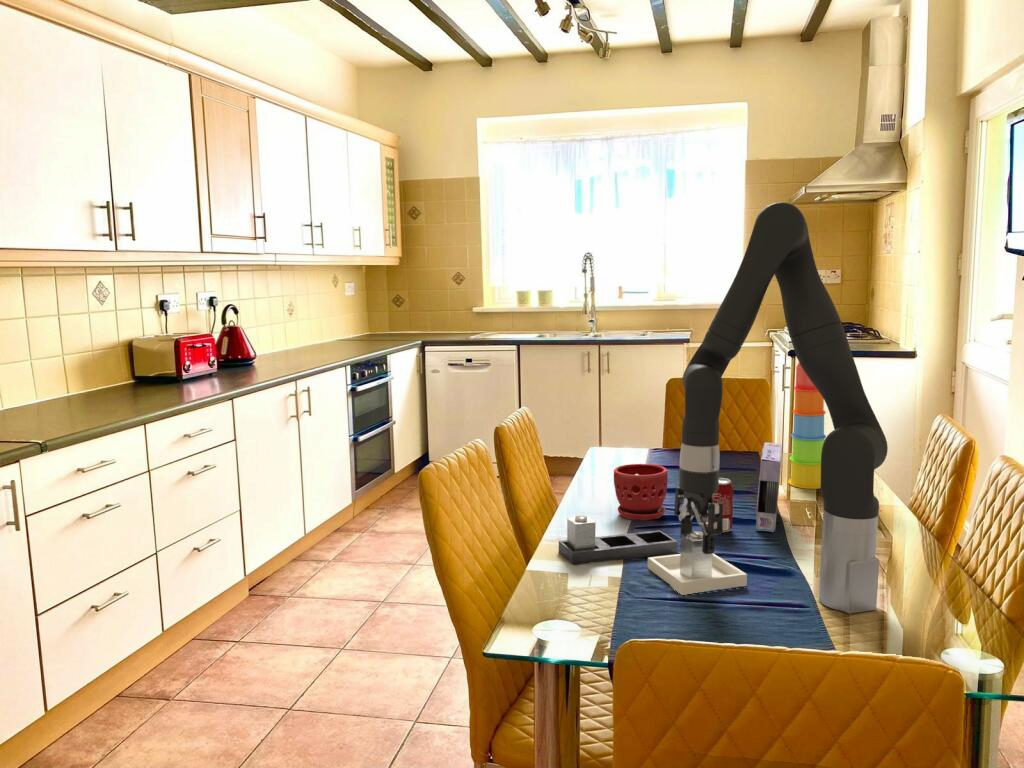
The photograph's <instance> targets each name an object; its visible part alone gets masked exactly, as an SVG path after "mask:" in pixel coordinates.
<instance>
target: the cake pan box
mask: <svg viewBox="0 0 1024 768" xmlns="http://www.w3.org/2000/svg"><path fill="white" fill-rule="evenodd" d="M782 452H783V444H782V443H775V442H774V443H773V442H767V441H766V442H764V443H763V447H762V450H761V456H760V457H761V458H760V467H759V477H758V478H759V480H758V491H757V501H756V502H757V503H756V521H755V529H756V528H757V529H767V530H775V531H776V526H777V525H776V524H777V514H778V513H777V512H778V503H779V491H780V489H779V488H780V478H781V465H782V457H783V456H782Z"/></svg>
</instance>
